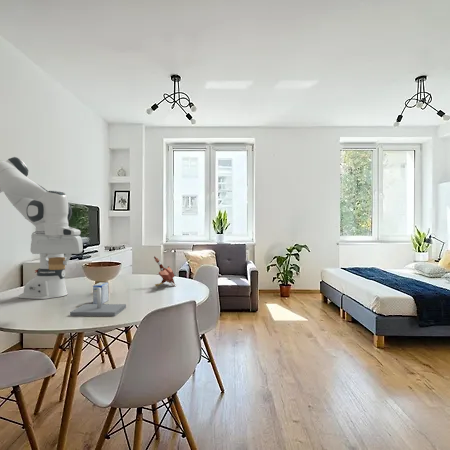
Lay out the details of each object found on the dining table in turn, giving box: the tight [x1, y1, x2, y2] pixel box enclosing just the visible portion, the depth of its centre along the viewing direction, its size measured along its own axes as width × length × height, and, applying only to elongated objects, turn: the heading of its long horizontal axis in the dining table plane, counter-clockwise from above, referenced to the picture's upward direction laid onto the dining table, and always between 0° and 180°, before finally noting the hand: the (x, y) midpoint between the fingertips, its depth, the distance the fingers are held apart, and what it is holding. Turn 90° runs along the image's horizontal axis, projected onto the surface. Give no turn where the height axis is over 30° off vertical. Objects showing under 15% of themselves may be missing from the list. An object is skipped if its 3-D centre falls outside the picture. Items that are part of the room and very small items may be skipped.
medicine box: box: [92, 282, 109, 304], centre depth 167 cm, size 8×4×9 cm, turn 178°
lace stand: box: [69, 288, 127, 317], centre depth 150 cm, size 18×14×10 cm
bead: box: [49, 256, 66, 270], centre depth 146 cm, size 6×6×4 cm
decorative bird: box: [153, 255, 176, 287], centre depth 208 cm, size 28×18×15 cm, turn 178°
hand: (56, 264), depth 146 cm, fingers closed on bead, 6 cm apart
